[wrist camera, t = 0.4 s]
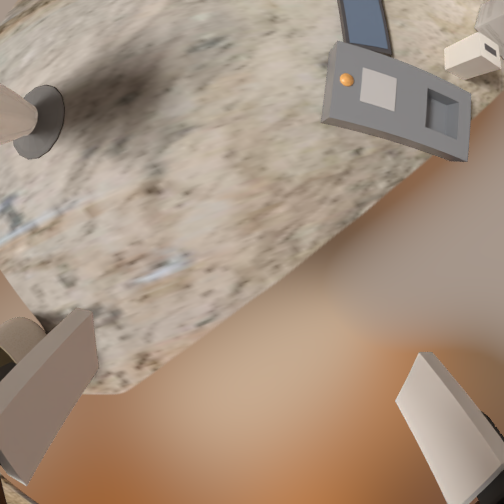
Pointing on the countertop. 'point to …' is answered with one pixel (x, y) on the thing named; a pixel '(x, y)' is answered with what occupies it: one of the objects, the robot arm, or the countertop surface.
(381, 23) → the phone
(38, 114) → the cup
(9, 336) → the planter
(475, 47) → the block
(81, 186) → the countertop surface
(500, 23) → the supplement box
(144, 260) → the countertop surface
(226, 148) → the countertop surface
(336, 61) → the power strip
